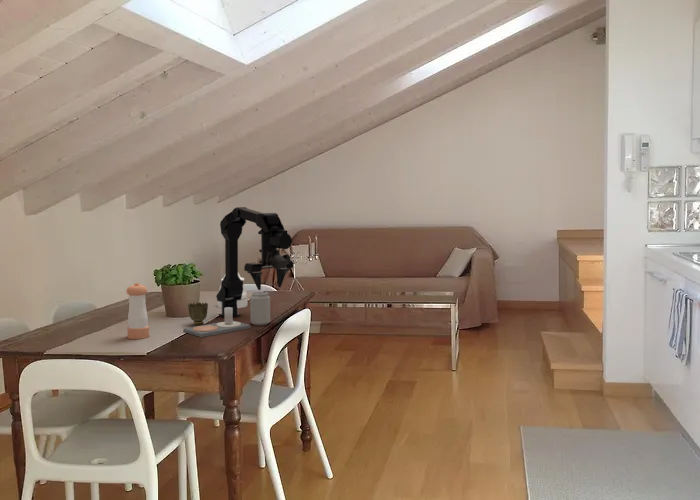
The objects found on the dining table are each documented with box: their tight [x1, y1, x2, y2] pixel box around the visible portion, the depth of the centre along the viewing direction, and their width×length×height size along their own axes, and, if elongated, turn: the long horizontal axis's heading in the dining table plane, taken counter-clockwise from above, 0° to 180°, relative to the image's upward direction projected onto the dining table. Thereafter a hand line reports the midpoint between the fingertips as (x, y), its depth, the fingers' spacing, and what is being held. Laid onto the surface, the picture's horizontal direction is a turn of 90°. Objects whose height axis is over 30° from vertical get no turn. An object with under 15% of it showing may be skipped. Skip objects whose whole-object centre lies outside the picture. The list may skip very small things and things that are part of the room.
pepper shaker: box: [126, 282, 150, 340], centre depth 246 cm, size 7×7×19 cm
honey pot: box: [217, 272, 249, 309], centre depth 304 cm, size 13×13×18 cm
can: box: [249, 291, 271, 326], centre depth 268 cm, size 8×8×12 cm
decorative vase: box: [187, 301, 209, 326], centre depth 267 cm, size 8×7×8 cm
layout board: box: [183, 307, 251, 338], centre depth 258 cm, size 12×21×8 cm, turn 133°
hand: (269, 288), depth 262 cm, fingers open, 9 cm apart
